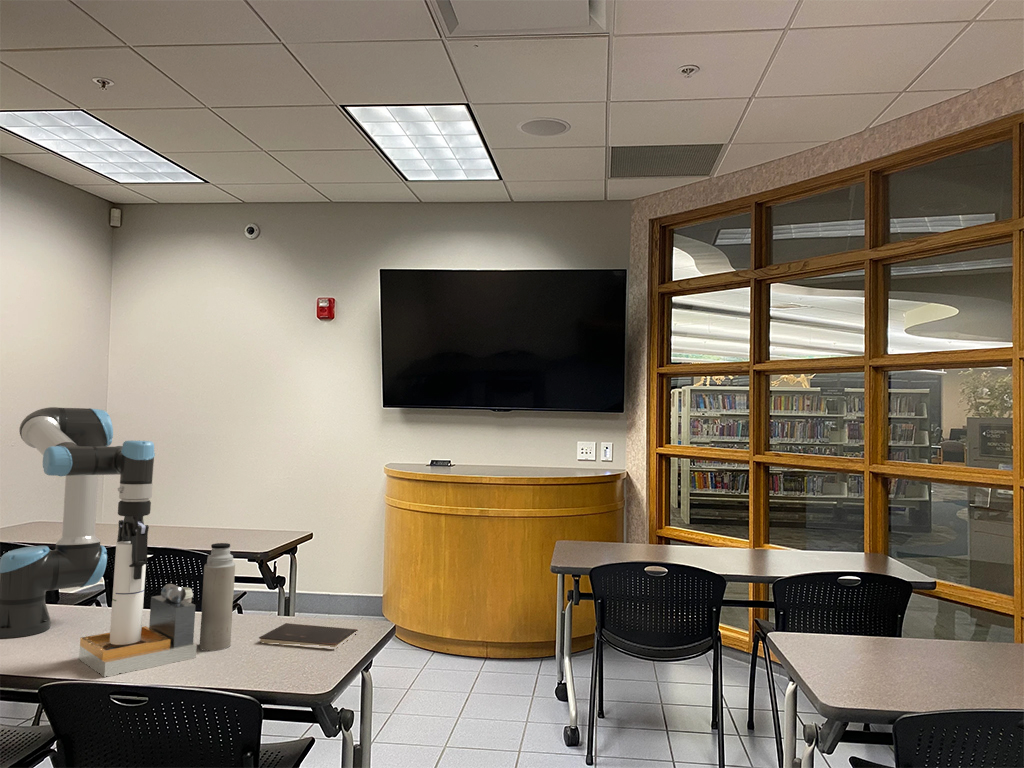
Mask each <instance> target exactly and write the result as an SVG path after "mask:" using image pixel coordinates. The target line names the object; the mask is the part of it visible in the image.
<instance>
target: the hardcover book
mask: <svg viewBox="0 0 1024 768" xmlns="http://www.w3.org/2000/svg"><path fill="white" fill-rule="evenodd" d="M356 631H358V632H359V630H358V629H355V628H345V627H335V626H334V627H332V626H323V625H313V624H311V625H310V624H300V623H299V624H298V623H289V622H288V623H287V622H285V623H283V624H282V625H280V626H277V627H276V628H274V629H272V630H270V631H268V632H266V633H265V634H262V635H261V636H259V637H258V639H260V642H264V643H279V644H300V645H319V646H330V647H336V646H337V645H338V644H340V643H341V642H343V641H344V640H345V639H347V638H348V637H349V636H350V635H352V634H353V633H354V632H356Z"/></svg>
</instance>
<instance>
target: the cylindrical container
mask: <svg viewBox="0 0 1024 768" xmlns="http://www.w3.org/2000/svg"><path fill="white" fill-rule="evenodd" d="M115 555H116V556H115ZM115 555H114V556H115V557H114V558H115V559H114V570H113V571H114V572H113V587H112V601H111V612H110V613H111V616H110V618H111V619H110V629H109V633H110V643H111V644H115V645H125V644H131V643H136V642H138V641H140V640H141V631H142V627H143V615H144V614H143V613H144V597H145V585H146V572H147V571H146V569H147V564H144V566H143V569H142V584H141V591H140V592H133V593H129V579H130V567H129V565H131V564H132V544H131V541H125V542H123V541H120V542H116V544H115Z"/></svg>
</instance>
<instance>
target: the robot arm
mask: <svg viewBox="0 0 1024 768" xmlns="http://www.w3.org/2000/svg"><path fill="white" fill-rule="evenodd" d="M19 436H20V438H21V440H22V441H23V443H25V444H26V445H27V446H29V447H31V448H34V449H36V450H37V451H38V452H39V453H40V454H41V455H42V468H43V472H44V474H46V475H47V476H57V477H64V476H65V481H64V484H65V485H64V498H63V499H64V500H63V516H62V517H63V518H62V519H63V520H62V536H61V537H60V539H59V540H58V541H56V542H55V549H50V548H49V546H48V545H31V546H25V547H20V548H15V549H12V550H9V551H8V552H4V553H3V555H1V556H0V639H9V638H10V639H11V638H21V637H29V636H33V635H37V634H40V633H44V632H46V631H48V630H49V629H50V628H51V617H50V613H49V611H48V607H47V603H46V592H47V591H56V590H57V591H58V590H65V589H72V588H84V587H88V586H93V585H94V586H95V585H96V584H97V583H99V582H100V581H101V580H102V578H103V576H104V574H105V571H106V568H107V563H108V554H107V553H108V552H107V551H108V550H107V549H106V547H105V546H104V545H101V539H99V538H98V537H97V536H96V524H97V523H96V521H97V505H98V504H97V502H98V500H97V499H98V486H99V485H98V483H99V476H104V475H105V476H109V475H110V476H112V475H119V487H117V491H118V499H120V500H119V502H118V503H117V504H118V505H117V515H118V516H120V517H124V518H123V519H120V520H118V531H117V540H116V541H117V542H120V541H123V542H125V541H131V544H132V564H131V565H129V567H130V579H129V593H133V592H140V591H141V584H142V569H143V566H144V564H146V565H147V564H148V541H149V540H148V533H149V525H148V524H145V522H144V517H145V516H149V515H150V514H151V507H152V502H151V500H150V499H152V495H153V477H154V476H153V475H154V463H155V462H154V461H155V456H156V453H155V443H154V442H153V441H152V440H124V441H123V443H122V445H116V446H111V445H112V442H113V439H114V426H113V422H112V419H111V416H110V415H109V413H108V412H107V411H105V410H103V409H98V408H79V407H78V408H76V407H55V406H52V407H51V406H50V407H43V408H39V409H37V410H35V411H32V412H31V413H29V414H28V415H27V416H25V417H24V419H23V420H22V421H21V423H20V426H19ZM117 542H116V543H117ZM114 556H116V554H115V555H114Z"/></svg>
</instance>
